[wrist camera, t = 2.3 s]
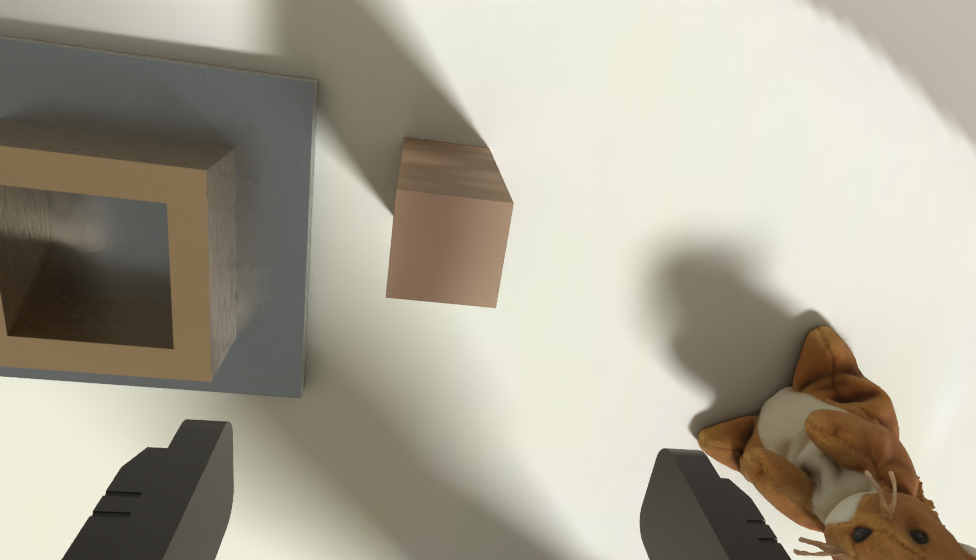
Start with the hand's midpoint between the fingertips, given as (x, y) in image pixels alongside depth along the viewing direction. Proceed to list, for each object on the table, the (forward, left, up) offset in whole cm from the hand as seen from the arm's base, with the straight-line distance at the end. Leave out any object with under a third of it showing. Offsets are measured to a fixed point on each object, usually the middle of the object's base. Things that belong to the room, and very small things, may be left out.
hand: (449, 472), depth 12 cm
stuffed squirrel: (-24, +13, -21) cm, 34 cm away
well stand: (+14, +4, -20) cm, 25 cm away
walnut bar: (0, 0, -20) cm, 20 cm away
